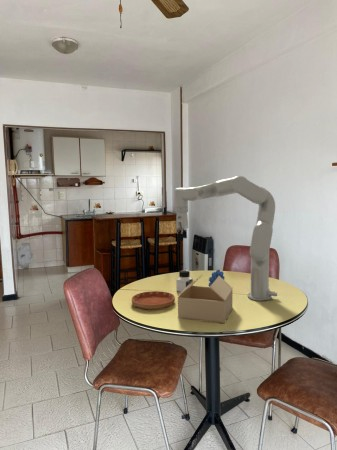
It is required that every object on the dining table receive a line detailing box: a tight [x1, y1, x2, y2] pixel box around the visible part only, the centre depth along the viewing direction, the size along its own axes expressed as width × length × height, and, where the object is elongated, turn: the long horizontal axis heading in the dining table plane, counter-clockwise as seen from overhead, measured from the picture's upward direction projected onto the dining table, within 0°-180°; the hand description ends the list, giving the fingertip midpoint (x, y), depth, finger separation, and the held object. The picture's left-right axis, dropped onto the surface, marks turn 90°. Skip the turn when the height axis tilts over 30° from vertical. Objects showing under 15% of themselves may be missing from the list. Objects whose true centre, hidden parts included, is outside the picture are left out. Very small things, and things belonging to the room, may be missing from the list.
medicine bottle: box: [175, 269, 194, 293], centre depth 204 cm, size 7×7×12 cm
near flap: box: [210, 276, 234, 301], centre depth 165 cm, size 9×19×1 cm
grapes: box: [208, 269, 226, 287], centre depth 205 cm, size 12×7×12 cm, turn 122°
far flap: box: [177, 274, 203, 297], centre depth 170 cm, size 9×19×1 cm
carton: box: [177, 285, 233, 324], centre depth 168 cm, size 22×20×10 cm
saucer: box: [131, 290, 176, 310], centre depth 184 cm, size 23×23×4 cm
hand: (182, 239), depth 199 cm, fingers open, 9 cm apart
